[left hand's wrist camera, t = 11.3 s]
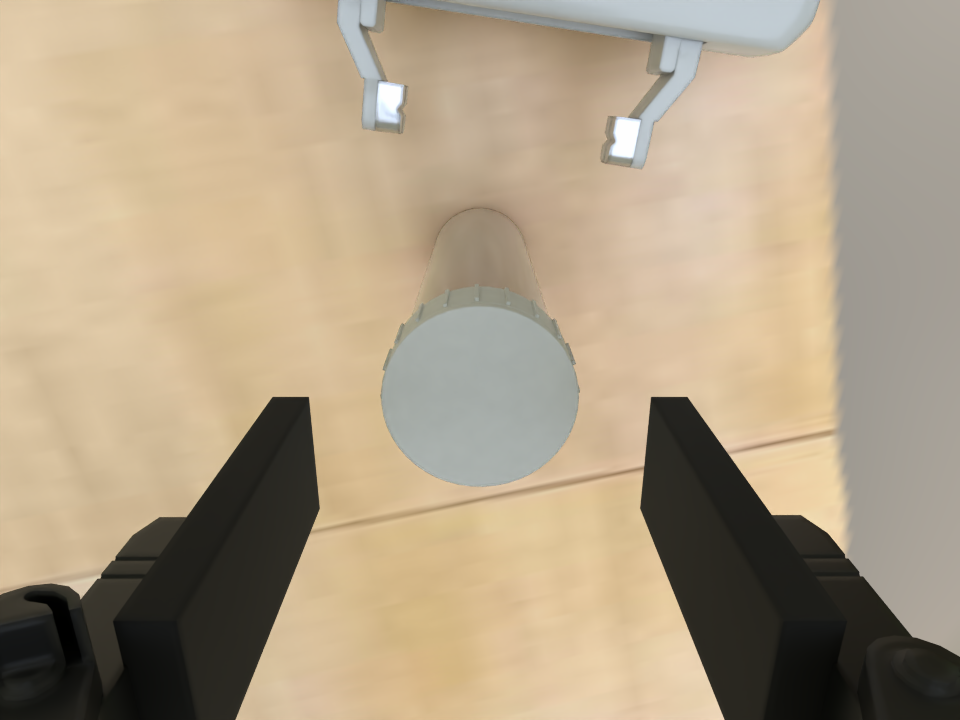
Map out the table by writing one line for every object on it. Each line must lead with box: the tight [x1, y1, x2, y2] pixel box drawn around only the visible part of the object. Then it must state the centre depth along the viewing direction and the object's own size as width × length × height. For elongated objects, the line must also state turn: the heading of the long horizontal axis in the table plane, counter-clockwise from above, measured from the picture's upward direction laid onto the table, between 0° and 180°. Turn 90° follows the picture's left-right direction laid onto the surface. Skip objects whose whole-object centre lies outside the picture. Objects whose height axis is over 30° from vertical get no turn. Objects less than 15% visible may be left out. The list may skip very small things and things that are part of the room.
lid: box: [381, 284, 580, 487], centre depth 18 cm, size 5×5×2 cm
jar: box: [411, 208, 549, 316], centre depth 26 cm, size 5×5×18 cm
